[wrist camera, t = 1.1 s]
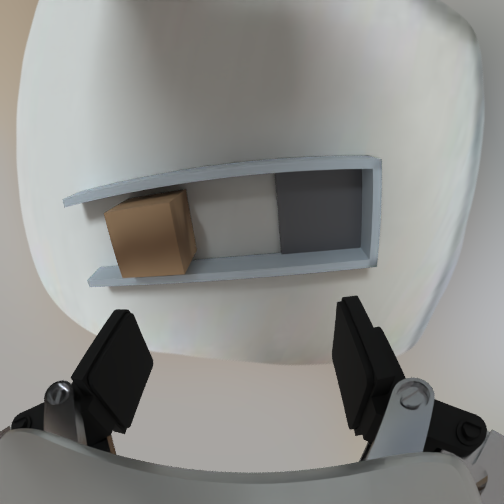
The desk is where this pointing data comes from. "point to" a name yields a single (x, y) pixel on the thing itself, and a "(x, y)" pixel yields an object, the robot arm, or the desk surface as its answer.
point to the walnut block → (152, 234)
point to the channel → (281, 218)
